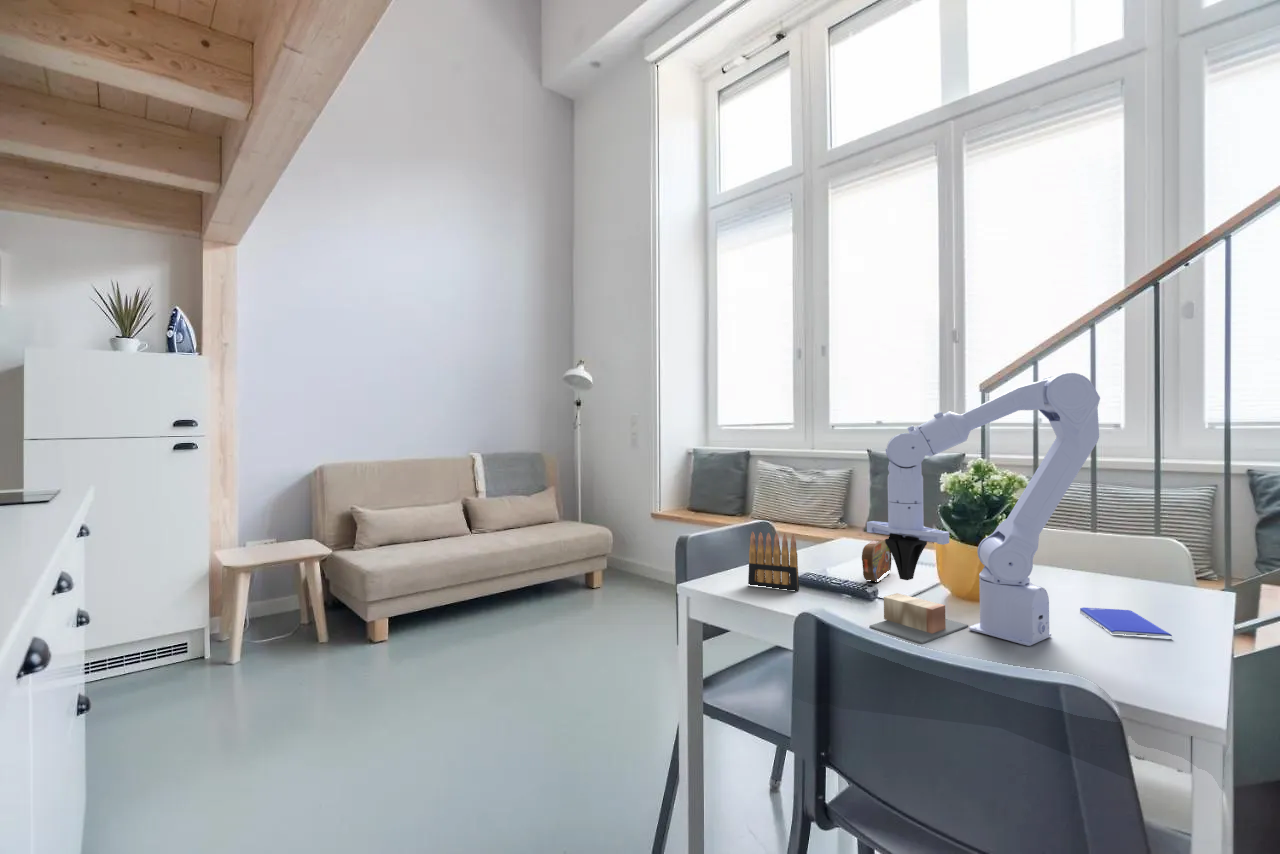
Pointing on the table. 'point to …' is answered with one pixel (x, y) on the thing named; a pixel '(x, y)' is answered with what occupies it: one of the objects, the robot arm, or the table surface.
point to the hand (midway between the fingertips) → (906, 578)
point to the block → (914, 613)
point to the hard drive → (1123, 622)
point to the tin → (876, 559)
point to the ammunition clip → (773, 563)
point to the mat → (916, 630)
